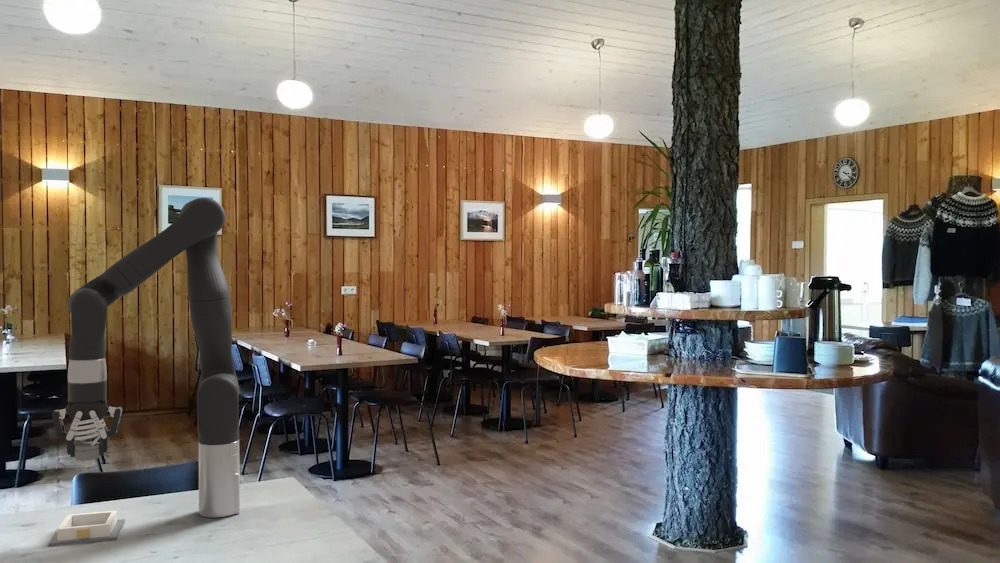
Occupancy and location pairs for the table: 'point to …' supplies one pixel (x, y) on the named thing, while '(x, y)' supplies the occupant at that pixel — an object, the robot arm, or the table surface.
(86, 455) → the light bulb
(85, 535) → the cream square tray
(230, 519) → the table surface
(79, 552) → the table surface
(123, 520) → the slate board
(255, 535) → the table surface
